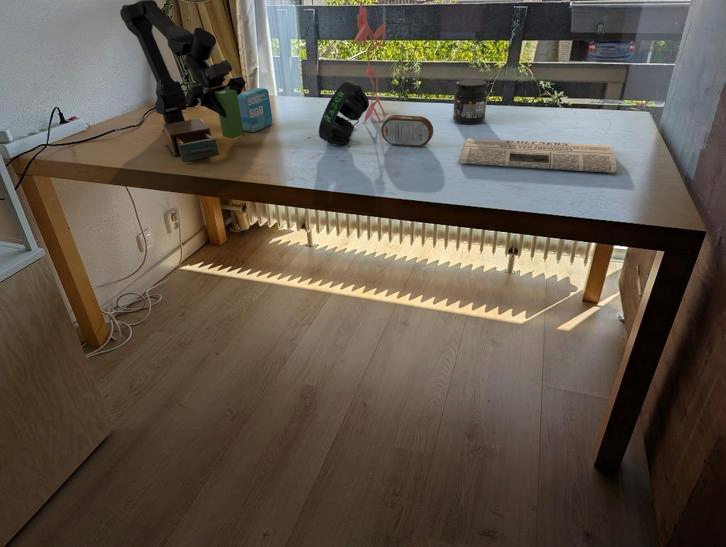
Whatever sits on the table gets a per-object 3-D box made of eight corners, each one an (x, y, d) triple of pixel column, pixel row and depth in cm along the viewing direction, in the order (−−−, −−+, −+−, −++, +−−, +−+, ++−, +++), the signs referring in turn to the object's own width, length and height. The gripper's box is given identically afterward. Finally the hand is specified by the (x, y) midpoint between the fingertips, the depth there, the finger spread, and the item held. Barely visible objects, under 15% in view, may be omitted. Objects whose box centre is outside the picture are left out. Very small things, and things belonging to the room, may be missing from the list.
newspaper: (459, 166, 127) (460, 155, 126) (468, 143, 143) (469, 133, 141) (614, 175, 117) (617, 164, 116) (606, 149, 133) (608, 139, 131)
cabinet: (214, 149, 149) (209, 128, 145) (175, 156, 144) (170, 134, 141) (204, 138, 159) (199, 118, 155) (167, 144, 155) (162, 124, 151)
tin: (433, 145, 143) (434, 115, 138) (430, 148, 140) (431, 118, 136) (383, 142, 147) (383, 113, 143) (380, 145, 145) (379, 116, 140)
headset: (351, 159, 161) (332, 142, 132) (316, 138, 162) (289, 118, 134) (379, 110, 158) (365, 82, 130) (343, 89, 160) (322, 58, 131)
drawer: (222, 158, 138) (219, 142, 136) (185, 166, 134) (181, 149, 132) (209, 144, 150) (205, 128, 148) (175, 150, 147) (171, 134, 144)
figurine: (391, 108, 181) (389, 0, 162) (378, 128, 159) (375, 6, 141) (350, 108, 184) (344, 1, 165) (333, 127, 162) (323, 8, 144)
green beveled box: (222, 136, 149) (214, 91, 142) (234, 132, 152) (227, 88, 145) (232, 138, 146) (223, 93, 139) (244, 135, 149) (236, 90, 142)
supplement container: (457, 115, 169) (460, 78, 162) (488, 117, 165) (491, 80, 158) (448, 123, 161) (450, 85, 154) (480, 126, 157) (483, 86, 150)
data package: (251, 133, 161) (245, 95, 155) (240, 132, 163) (234, 94, 157) (273, 123, 170) (268, 87, 163) (262, 122, 172) (257, 86, 165)
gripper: (180, 56, 133) (213, 103, 132) (236, 47, 145) (266, 90, 144) (172, 84, 141) (202, 128, 141) (225, 72, 153) (253, 113, 153)
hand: (232, 114), depth 145 cm, fingers closed on green beveled box, 4 cm apart
